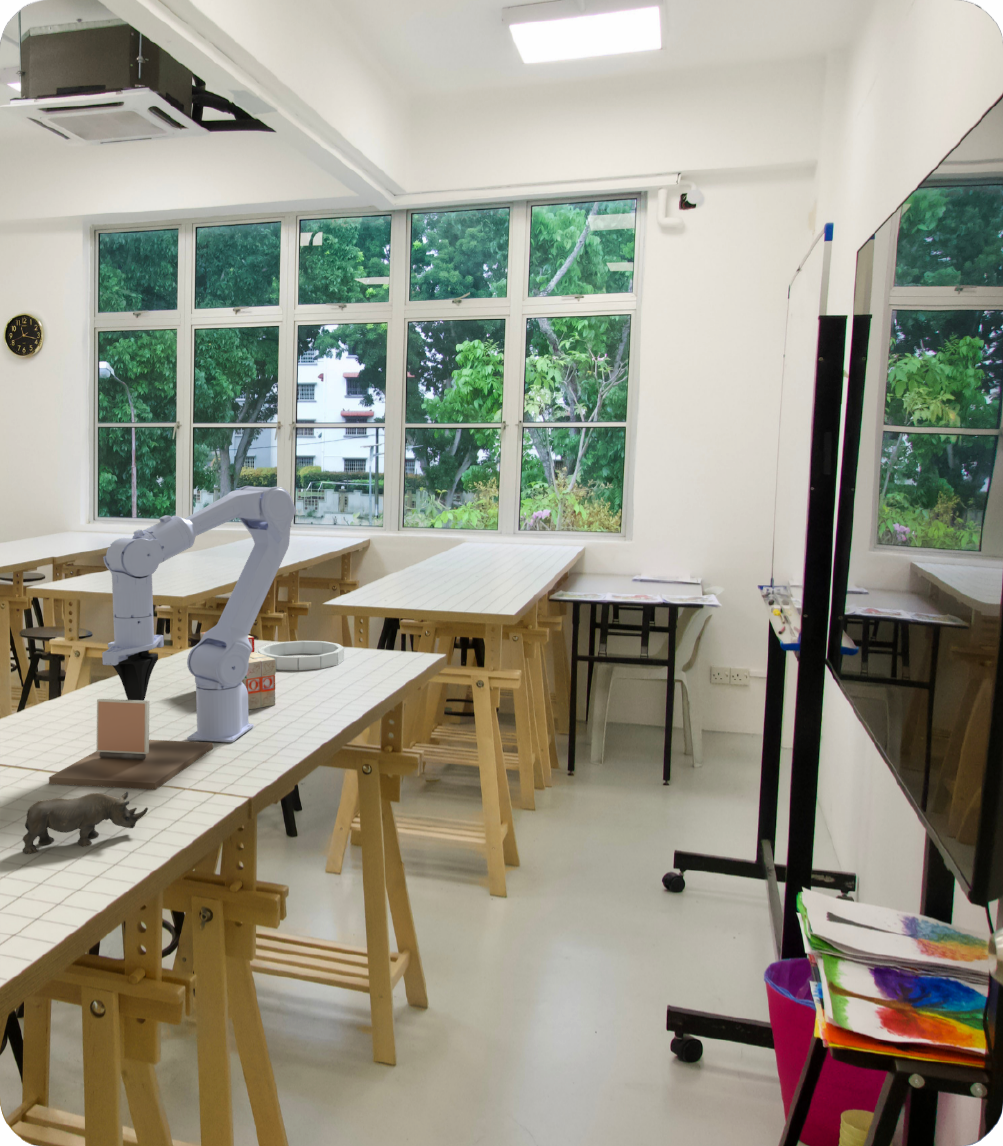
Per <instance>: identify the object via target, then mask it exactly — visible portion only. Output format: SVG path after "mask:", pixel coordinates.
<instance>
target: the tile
mask: <svg viewBox="0 0 1003 1146" xmlns="http://www.w3.org/2000/svg"><path fill="white" fill-rule="evenodd" d="M149 740H150V700H143V701H142V700H128V699H118V698H116V699H115V698H114V699H113V698H98V699H96V748H95V749H96V750H95V752H115V753H135V754H147V753H149Z"/></svg>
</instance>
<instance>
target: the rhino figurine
mask: <svg viewBox="0 0 1003 1146" xmlns="http://www.w3.org/2000/svg"><path fill="white" fill-rule="evenodd" d="M128 796H129V791H126V792H124V794H123V795H122V796H121V797H116V796H112V795H111V794H107V793H102V792H92V793H87V794H85V795H83V796H80V797H76V798H61V797H55V798H47V799H41V800H37V801H36V802H34V803H33V804H32V805H31V806H30V807H29V808H28V809H27V812H26V821H25V825H24V826H25V829H26V831H27V833H26V834H25V835H24V836H23V837H22V841H23V842H24V847H23V848H22V852H23V853H24V854H26V855H27V854H28V855H29V854H33V853H38V851H39V849H38V848H37V846H36V845H35V844H34V842H35V840H36V839H37V838H38V839H39V840H38V841H37V842H38V845H50V844H53V842H54V841H55V838H54V837H51V836H50V834H49V831H48V829H51V830H53V831H55V832H58V833H71V832H74V831H75V830H79V838H78V840H77V844H79V846H81V847H83V848H84V847H85V848H86V847H87V846H92V845H93V842H92V840H91V839H96V838H98V837H99V835H100V834H99V832H97V831H96V830H95V829H96V826H97V825H99V824H100V823H102V822H103V821H108V820H110V821H111V822H112V823H113V825H115V826H119V827H122V828H126V829H127V828H128V829H134V828H135V826H136V823H137V822H138V821H139V820H140V819H142V817H144V816H145V815H146V813H148V810H149V808H148V807H147V806H146V807H145V808H144V809H143V810H142V811H140V812H137V813H136V811H137V809H138V807H134V808H131V809H128V808H127V806H128V805H129V804H130V801H129V800H127V799H128ZM125 800H127V801H125Z"/></svg>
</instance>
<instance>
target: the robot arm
mask: <svg viewBox="0 0 1003 1146" xmlns="http://www.w3.org/2000/svg"><path fill="white" fill-rule="evenodd" d="M296 512H297V509H296V506H295V504H294V501H293V498H292V496H291V494H290V493H289V491H288V490H287V489H286V488H284V487H280V486H272V487H270V486H269V487H265V486H252V485H245V486H242V487H240V488H239V489H236V490H232V491H230V492H228V493H227V494H226V495H224V496H222V497H221V498H219V499H217V500H215V501H214V502H212V503H210V504H208V505H206V506H204V507H203V508H201V509H199V510H197V511H196V512H194V513H192V514H190V515H189V516H187V517H185V518H183V517H181V516H179V515H172V516H171V515H163V516H161V517H159V519H158V520H159V521H160V522H158V523H156V524H153V525H151V526H150V527H147V528H146V529H136V530H135V531H133V536H132V538H130V537H121V538H118V539H115V540H114V541H113V542H112V543H110V546H109V547H107V550H106V554H105V555H104V556H103V557H102V558H103V563H104V565H105V567H106V568H107V570H108V571H109V572H110V574H111V582H112V583H111V584H112V586H111V590H112V614H113V616H112V617H113V619H112V620H113V638H114V641H110V642H108V643H107V648H108V649H106V650H104V651H103V652H102V653H101V655H102V657H101V659H102V665H103V666H111V667H113V668H114V670H115V671H116V673H117V675H118V677H119V679H120V681H121V683H122V688H123V689H124V692H125V695H126V698H127V699H126V700H142V701H146V700H145V699H146V696H147V695H146V694H147V692H148V686H149V682H150V678H151V675H152V672H153V670H154V667H155V665H156V663H157V662H158V661H159V654H158V653H152V652H151V653H150V651H151V650H154V649H156V648H163V647H165V645H164V643H165V642H164V634H163V635H162V634H155V629H154V627H155V626H154V623H155V621H154V604H153V603H154V597H153V596H154V595H153V574H154V573H155V572H156V571H157V569H158V567H159V565H160V564H161V563H163V562H165V561H168V560H170V559H171V558H173V557H176V556H178V555H179V554H180V553H183V552H185V551H186V550H188V549H190V548H192V547H193V546H194V544H195V541H196V537H198V536H199V535H201V534H204V533H206V532H208V531H209V530H212V529H216V528H217V527H219V526H221V525H223V524H225V523H228V522H230V521H232V520H235V519H239V520H240V522H241V523H242V524H243V526H244V527H245V529H246V530H247V531H248V532H249V533H250V535H251V537H252V541H253V543H254V544H253V548H252V549H251V552H250V554H249V556H248V558H247V560H246V562H245V564H244V567H243V568H242V571H241V573H240V575H239V577H238V579H237V582H236V583H235V586H234V587H233V590H232V592H231V594H230V596H229V598H228V600H227V602H226V605H225V607H224V608H223V610H222V613H221V615H220V618H219V619H218V621H217V624H216V625H214V626H213V627H211V628H210V629H208V630H207V631H204V632H205V633H204V635H203V637H202V639H201V638H200V640H199V642H198V643H197V644H196V645H194V646H193V647H192V648H191V649H190V652H189V653H188V656H187V661H186V665H187V669H188V671H189V673H190V674H192V676H194V682H195V695H196V697H195V699H196V731H195V732H193V733H192V734H190V735H189V736H187V741H195V742H217V743H219V742H221V743H232V742H234V741H236V740H237V739H238V738H240V737H242V736H243V735H244V734H246V733H247V732H249V731H250V730H251V729H252V728H253V727H254V723H249V722H250V721H249V710H248V691H247V688H246V686H245V685H244V684H243V683H242V680H243V679H244V678H245V676H246V674H247V672H248V667H249V657H250V654H251V652H252V646H251V644H250V642H249V639H248V635H249V634H250V632H251V630H252V627H253V626H254V623H255V621H256V619H257V617H258V615H259V612H260V610H261V608H262V606H263V604H264V602H265V599H266V597H267V595H268V593H269V590H270V588H271V586H272V584H273V582H274V579H275V578H276V575H277V573H278V571H279V569H280V567H281V565H282V562H283V560H284V557H285V555H286V554H287V551H288V548H289V546H290V537H291V524H292V521H293V519H294V517H295V515H296V514H297V513H296Z"/></svg>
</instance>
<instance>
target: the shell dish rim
mask: <svg viewBox="0 0 1003 1146" xmlns="http://www.w3.org/2000/svg"><path fill="white" fill-rule="evenodd" d="M257 653H260V654H263V655H265V656H268V657H271V658H273V659H275V663H276V671H277V670H279V671H304V670H305V671H306V670H307V671H308V670H321V669H326V668H329V667H334V666H339V664H341V663H342V662H343V661H345V648H344V646H343V645H341V644H339V643H335V642H329V641H324V640H323V641H322V640H293V641H281V642H275V643H270V644H267V645H263V646H262V647H260V648H257ZM298 654H300V656H299V655H298ZM301 654H307V655H301ZM308 654H309V655H308ZM310 654H312V655H310ZM291 655H294V656H291ZM295 655H297V656H295Z"/></svg>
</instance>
